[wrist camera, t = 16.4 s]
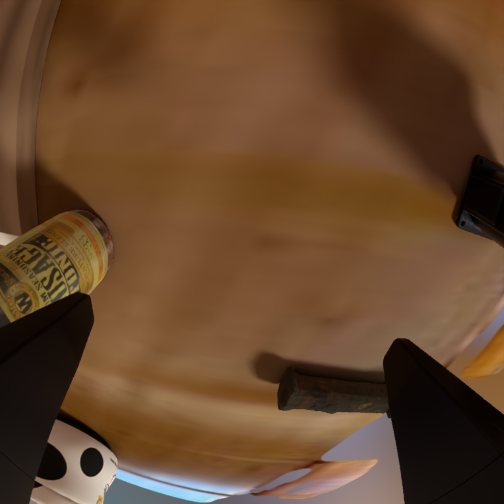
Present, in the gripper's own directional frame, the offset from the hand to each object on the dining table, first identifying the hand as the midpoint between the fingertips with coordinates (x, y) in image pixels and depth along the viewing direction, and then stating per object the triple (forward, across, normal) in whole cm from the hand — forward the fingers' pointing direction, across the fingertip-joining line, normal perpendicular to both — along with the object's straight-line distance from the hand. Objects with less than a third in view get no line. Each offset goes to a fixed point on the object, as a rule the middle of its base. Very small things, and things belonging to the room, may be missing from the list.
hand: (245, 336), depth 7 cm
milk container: (+13, +24, +46) cm, 54 cm away
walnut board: (+13, +22, -4) cm, 25 cm away
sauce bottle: (+13, +13, +5) cm, 19 cm away
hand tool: (+13, -15, +17) cm, 26 cm away
